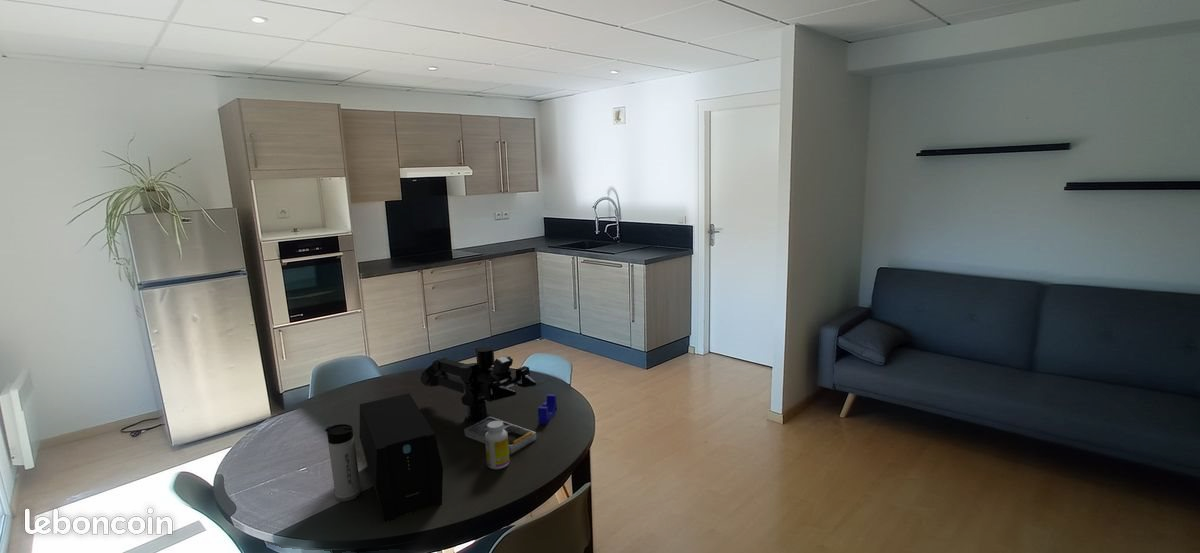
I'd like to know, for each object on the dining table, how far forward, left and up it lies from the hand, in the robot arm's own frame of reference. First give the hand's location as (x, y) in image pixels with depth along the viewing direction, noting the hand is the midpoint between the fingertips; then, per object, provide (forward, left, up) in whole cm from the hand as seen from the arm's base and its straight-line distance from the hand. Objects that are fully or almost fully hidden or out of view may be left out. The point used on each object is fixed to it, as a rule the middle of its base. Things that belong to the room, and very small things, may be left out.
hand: (525, 388), depth 175 cm
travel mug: (-18, -52, -17) cm, 58 cm away
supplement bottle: (+5, -18, -17) cm, 25 cm away
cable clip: (-5, +14, -17) cm, 23 cm away
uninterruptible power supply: (-11, -40, -17) cm, 45 cm away
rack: (-7, -6, -17) cm, 19 cm away
